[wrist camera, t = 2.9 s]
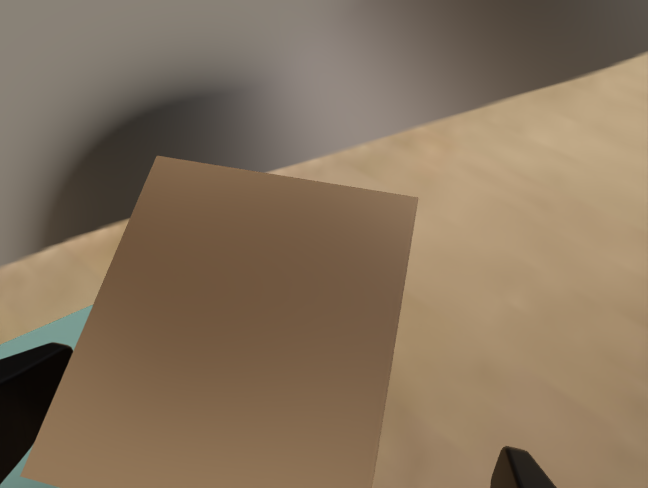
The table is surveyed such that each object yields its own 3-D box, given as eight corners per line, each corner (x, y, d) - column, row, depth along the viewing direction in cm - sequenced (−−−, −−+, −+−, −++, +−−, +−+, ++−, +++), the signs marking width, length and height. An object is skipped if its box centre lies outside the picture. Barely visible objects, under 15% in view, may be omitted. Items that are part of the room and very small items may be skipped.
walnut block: (355, 477, 16) (358, 571, 5) (249, 450, 17) (19, 475, 5) (377, 352, 18) (419, 197, 6) (279, 332, 18) (156, 155, 7)
